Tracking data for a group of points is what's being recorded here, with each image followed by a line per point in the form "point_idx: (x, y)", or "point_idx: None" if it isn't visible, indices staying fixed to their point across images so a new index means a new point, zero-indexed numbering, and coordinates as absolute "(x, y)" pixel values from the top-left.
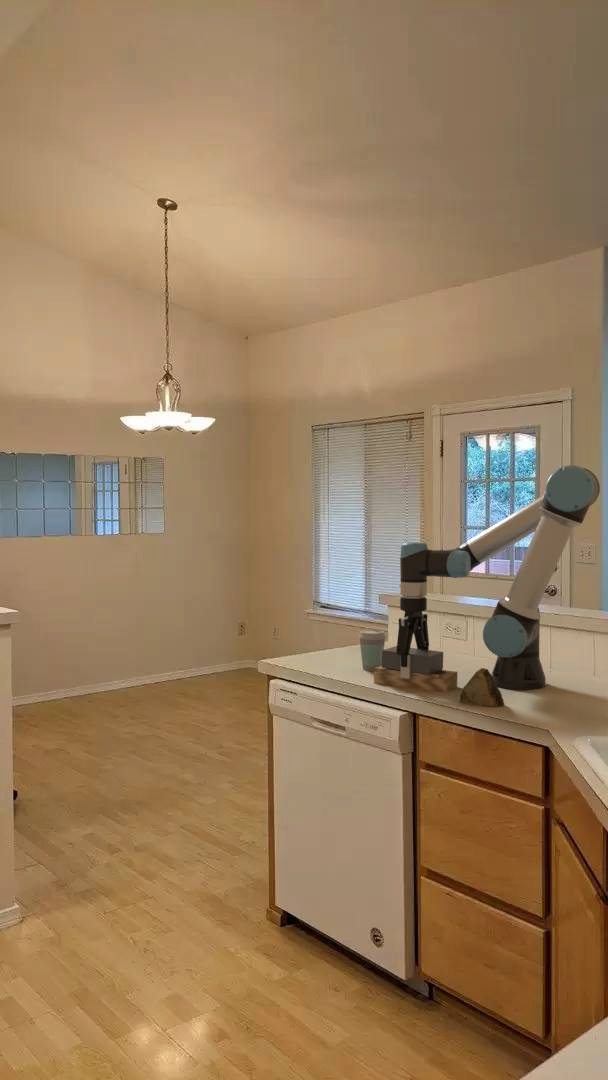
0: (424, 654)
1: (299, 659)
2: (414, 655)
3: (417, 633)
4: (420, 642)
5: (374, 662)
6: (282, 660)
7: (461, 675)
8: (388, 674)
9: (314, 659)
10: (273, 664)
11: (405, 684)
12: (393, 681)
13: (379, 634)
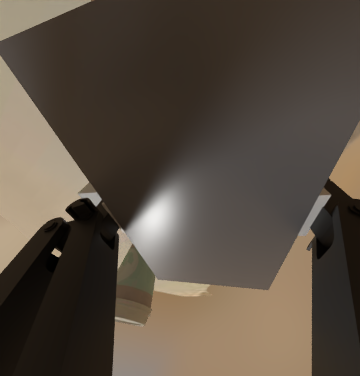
0: (283, 104)
1: (167, 288)
2: (322, 170)
3: (92, 365)
4: (101, 258)
5: None
6: (181, 293)
7: (9, 118)
8: None
9: (156, 283)
10: (201, 294)
11: None
12: None
13: (121, 313)
